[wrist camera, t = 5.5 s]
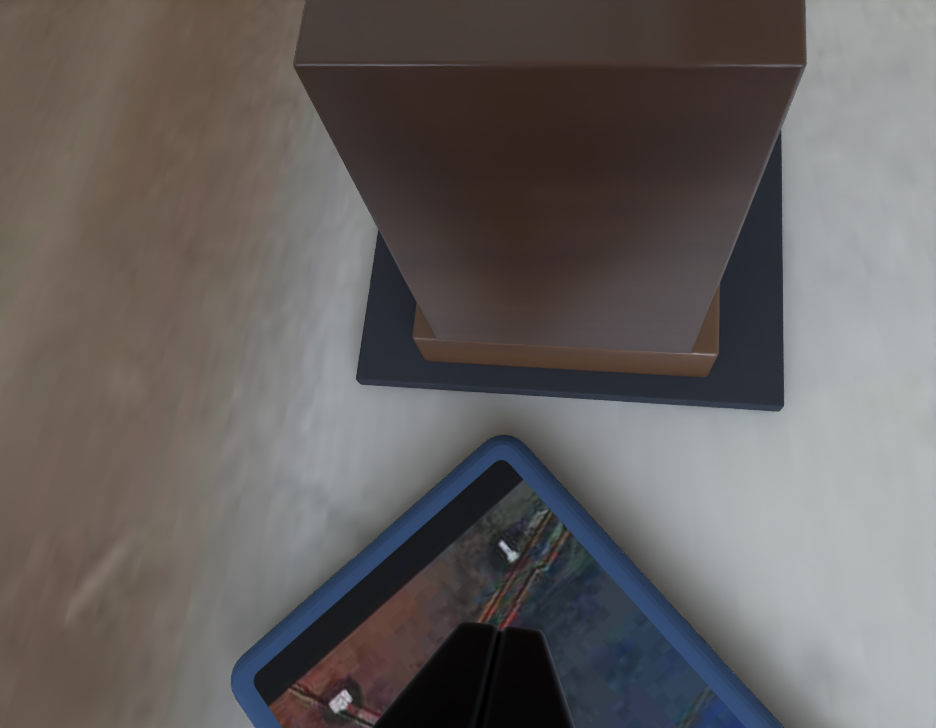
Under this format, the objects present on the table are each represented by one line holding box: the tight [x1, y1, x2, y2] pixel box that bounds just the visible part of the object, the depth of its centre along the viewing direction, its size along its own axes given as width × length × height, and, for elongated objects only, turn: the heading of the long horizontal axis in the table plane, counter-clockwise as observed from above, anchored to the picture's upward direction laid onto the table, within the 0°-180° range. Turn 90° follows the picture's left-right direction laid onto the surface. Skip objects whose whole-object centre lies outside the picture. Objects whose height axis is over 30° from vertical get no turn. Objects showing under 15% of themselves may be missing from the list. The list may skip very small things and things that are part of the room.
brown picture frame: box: [293, 0, 807, 377], centre depth 14 cm, size 10×6×10 cm, turn 174°
